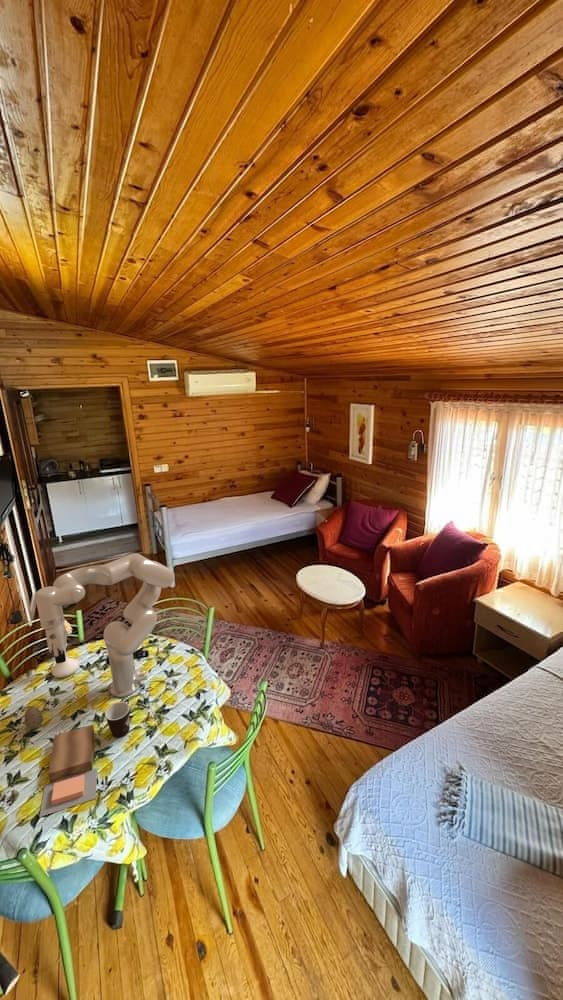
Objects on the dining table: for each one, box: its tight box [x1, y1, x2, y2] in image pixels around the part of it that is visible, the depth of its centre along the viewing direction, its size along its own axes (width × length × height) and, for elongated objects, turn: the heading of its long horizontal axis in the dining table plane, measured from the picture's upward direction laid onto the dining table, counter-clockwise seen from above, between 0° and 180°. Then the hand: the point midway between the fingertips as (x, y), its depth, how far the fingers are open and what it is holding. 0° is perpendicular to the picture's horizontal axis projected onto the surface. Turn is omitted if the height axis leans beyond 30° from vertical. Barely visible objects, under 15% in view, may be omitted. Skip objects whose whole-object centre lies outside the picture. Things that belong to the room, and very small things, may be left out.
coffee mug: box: [104, 698, 131, 739], centre depth 156 cm, size 12×9×10 cm
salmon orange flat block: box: [51, 775, 85, 805], centre depth 133 cm, size 9×6×2 cm, turn 110°
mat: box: [39, 768, 98, 818], centre depth 133 cm, size 16×11×1 cm
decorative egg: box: [24, 705, 44, 731], centre depth 156 cm, size 6×6×10 cm
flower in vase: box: [51, 619, 80, 678], centre depth 184 cm, size 13×11×25 cm
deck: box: [47, 724, 96, 784], centre depth 145 cm, size 13×16×4 cm
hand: (61, 661), depth 154 cm, fingers closed
